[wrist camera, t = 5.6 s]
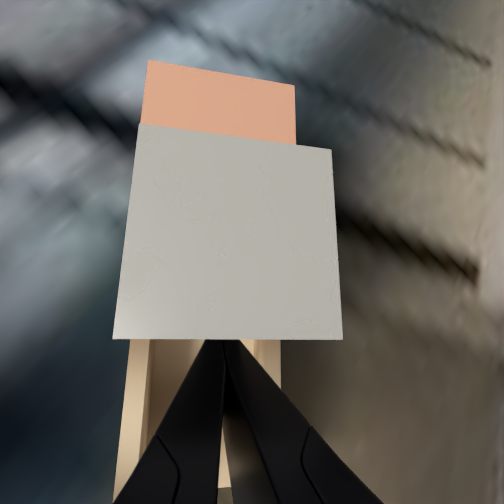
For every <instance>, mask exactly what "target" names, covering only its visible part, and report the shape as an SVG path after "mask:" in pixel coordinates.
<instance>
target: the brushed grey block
mask: <svg viewBox="0 0 504 504" xmlns="http://www.w3.org/2000/svg"><path fill="white" fill-rule="evenodd" d="M113 339H256V340H343V332H342V316H341V299H340V283H339V267H338V250H337V234H336V218H335V201H334V185H333V169H332V152H331V149H324V148H317V147H309V146H302V145H295V144H287V143H280V142H273V141H265V140H258V139H251V138H243V137H236V136H229V135H221V134H214V133H207V132H199V131H192V130H185V129H177V128H170V127H163V126H155V125H148V124H141V123H139V129H138V137H137V145H136V153H135V161H134V169H133V177H132V185H131V193H130V201H129V210H128V218H127V226H126V234H125V242H124V250H123V258H122V266H121V274H120V282H119V291H118V299H117V307H116V315H115V323H114V331H113Z"/></svg>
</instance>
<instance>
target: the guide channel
mask: <svg viewBox="0 0 504 504" xmlns="http://www.w3.org/2000/svg"><path fill="white" fill-rule="evenodd" d="M204 341H205V339H131V340H130V349H129V358H128V368H127V377H126V386H125V395H124V404H123V413H122V423H121V432H120V441H119V450H118V459H117V468H116V478H115V487H114V496H113V502H114V500H115V499H116V497H117V496H118V494H119V493H120V491H121V490H122V488H123V487H124V485H125V483H126V482H127V480H128V479H129V477H130V476H131V474H132V472H133V470H134V469H135V467H136V465H137V463H138V462H139V460H140V458H141V457H142V455H143V453H144V451H145V449H146V448H147V446H148V444H149V442H150V440H151V438H152V437H153V435H155V432H156V430H157V428H158V426H159V424H160V422H161V421H162V419H163V417H164V415H165V413H166V411H167V409H168V408H169V406H170V404H171V402H172V400H173V398H174V396H175V395H176V393H177V391H178V389H179V387H180V385H181V383H182V381H183V380H184V378H185V376H186V374H187V372H188V370H189V368H190V367H191V365H192V363H193V361H194V359H195V357H196V355H197V354H198V352H199V350H200V348H201V346H202V344H203V342H204ZM240 341H241V342H242V343H243V344H244V345H245V347H246V348H247V349H248V350H249V351H250V353H251V354H252V355H253V356H254V357H255V359H256V360H257V361H258V362H259V363H260V365H261V366H262V367H263V368H264V369H265V371H266V372H267V373H268V374H269V375H270V377H271V378H272V379H273V380H274V381H275V383H276V384H277V385H278V386H279V387H280V389H281V360H280V340H256V339H240ZM222 487H231V483H230V476H229V469H228V462H227V455H226V449H225V442H224V435H223V428H222V438H221V452H220V467H219V481H218V488H222Z"/></svg>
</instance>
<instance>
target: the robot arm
mask: <svg viewBox="0 0 504 504" xmlns="http://www.w3.org/2000/svg"><path fill="white" fill-rule="evenodd" d="M309 426H310V424H309V422H308V421H307V420H306V419H305V418H304V416H303V415H302V414H301V413H300V412H299V410H298V409H297V408H296V407H295V406H294V404H293V403H292V402H291V401H290V399H289V398H288V397H287V396H286V395H285V393H284V392H283V391H282V390H281V389H280V387H279V386H278V385H277V384H276V383H275V381H274V380H273V379H272V378H271V377H270V375H269V374H268V373H267V372H266V371H265V369H264V368H263V367H262V366H261V365H260V363H259V362H258V361H257V360H256V359H255V357H254V356H253V355H252V354H251V353H250V351H249V350H248V349H247V348H246V347H245V345H244V344H243V343H242V342H241V341H240V339H205V341H204V342H203V344H202V346H201V348H200V350H199V352H198V354H197V355H196V357H195V359H194V361H193V363H192V365H191V367H190V368H189V370H188V372H187V374H186V376H185V378H184V380H183V381H182V383H181V385H180V387H179V389H178V391H177V393H176V395H175V396H174V398H173V400H172V402H171V404H170V406H169V408H168V409H167V411H166V413H165V415H164V417H163V419H162V421H161V422H160V424H159V426H158V428H157V430H156V432H155V435H153V437H152V438H151V440H150V442H149V444H148V446H147V448H146V449H145V451H144V453H143V455H142V457H141V458H140V460H139V462H138V463H137V465H136V467H135V469H134V470H133V472H132V474H131V476H130V477H129V479H128V480H127V482H126V483H125V485H124V487H123V488H122V490H121V491H120V493H119V494H118V496H117V497H116V499H115V500H114V502H113V504H217V496H218V481H219V467H220V452H221V438H222V428H223V435H224V442H225V449H226V455H227V462H228V469H229V476H230V483H231V490H232V496H233V503H234V504H384V503H383V502H382V501H381V500H380V499H379V498H378V497H377V496H376V495H375V494H374V493H373V492H372V491H371V490H370V489H369V488H368V487H367V486H366V485H365V484H364V483H363V482H362V481H361V480H360V479H359V478H358V477H357V476H356V475H355V474H354V473H353V472H352V471H351V470H350V468H349V467H348V466H347V465H346V464H345V463H344V462H343V461H342V460H341V459H340V458H339V457H338V456H337V454H336V453H335V452H334V451H333V450H332V449H331V448H330V446H329V445H328V444H327V443H326V442H325V441H324V440H323V438H322V437H321V436H320V435H319V434H318V432H317V431H316V430H315V429H314V428H313V426H310V427H309Z"/></svg>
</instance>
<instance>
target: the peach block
mask: <svg viewBox="0 0 504 504" xmlns="http://www.w3.org/2000/svg"><path fill="white" fill-rule="evenodd" d="M141 124H148V125H155V126H163V127H170V128H177V129H185V130H192V131H199V132H207V133H214V134H221V135H229V136H236V137H243V138H251V139H258V140H265V141H273V142H280V143H287V144H295V145H296V126H295V90H294V85H288V84H283V83H277V82H271V81H266V80H260V79H254V78H249V77H243V76H237V75H232V74H226V73H220V72H215V71H209V70H203V69H198V68H192V67H186V66H181V65H175V64H169V63H164V62H158V61H152V60H148V66H147V74H146V82H145V90H144V98H143V106H142V115H141Z"/></svg>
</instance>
